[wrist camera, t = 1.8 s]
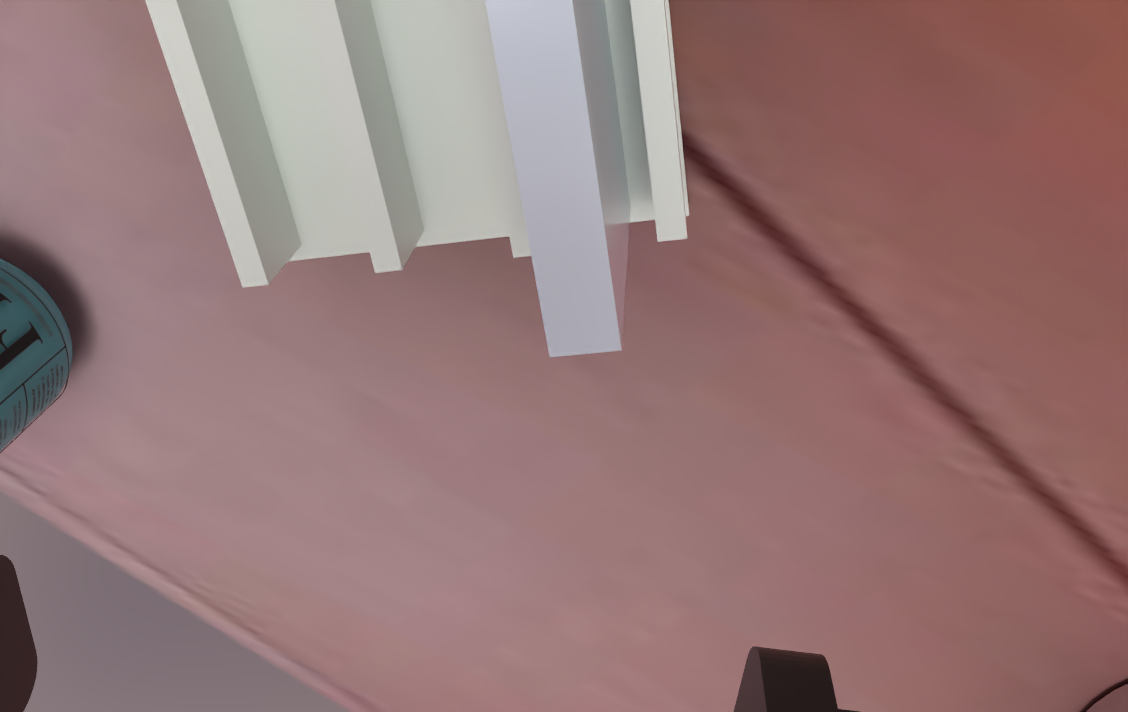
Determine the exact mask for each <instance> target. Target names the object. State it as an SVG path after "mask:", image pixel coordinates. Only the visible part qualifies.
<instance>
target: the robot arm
mask: <svg viewBox="0 0 1128 712" xmlns="http://www.w3.org/2000/svg"><path fill="white" fill-rule="evenodd" d="M36 673H37V654H36V649H35V645H34V642H33V638H32V634H31V630H30V626H29V622H28V618H27V614H26V610H25V606H24V602H23V598H22V595H21V591H20V587H19V583H18V579H17V575H16V572H15V568H14V565H13V564H12V562H11V560H9V559H8V558H7V557H6V556H3V555H0V712H23V711H24V709H25V707H26V705H27V703H28V701H29V698H30V696H31V693H32V690H33V687H34V683H35V679H36ZM734 712H858V711H850V710H841V709H838V707H837V703H836V698H835V693H834V688H833V684H832V679H831V674H830V670H829V666H828V663H827V660H826V659H825V657H824V656H823V655H821V654H812V653H804V652H795V651H787V650H779V649H770V648H762V647H752V648H751V650H750V652H749V654H748V657H747V661H746V665H745V669H744V673H743V677H742V681H741V685H740V689H739V693H738V697H737V701H736V705H735V709H734ZM1087 712H1128V684H1126V685H1124V686H1122V687H1120V688H1118V689H1116V690H1114V691H1112V692H1111V693H1109V694H1108V695H1106V696H1105V697H1103V698H1102V699H1101V700H1099V701H1098V702H1096V703H1095V704H1094V705H1093V706H1092V707H1091V708H1090V709H1089V710H1088V711H1087Z"/></svg>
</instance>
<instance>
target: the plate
mask: <svg viewBox="0 0 1128 712" xmlns="http://www.w3.org/2000/svg"><path fill="white" fill-rule="evenodd" d="M485 4H486V9H487V15H488V20H489V26H490V31H491V37H492V42H493V48H494V54H495V59H496V65H497V70H498V76H499V81H500V87H501V92H502V98H503V103H504V109H505V114H506V120H507V125H508V131H509V136H510V142H511V147H512V153H513V158H514V164H515V169H516V175H517V180H518V186H519V191H520V197H521V202H522V208H523V213H524V219H525V224H526V230H527V235H528V241H529V246H530V252H531V257H532V263H533V268H534V274H535V279H536V285H537V290H538V296H539V301H540V307H541V312H542V318H543V323H544V329H545V334H546V340H547V345H548V351H549V356H550V357H558V356H569V355H579V354H590V353H600V352H611V351H622V338H623V322H624V306H625V290H626V274H627V258H628V242H629V226H630V210H631V205H630V197H629V189H628V181H627V173H626V165H625V157H624V150H623V142H622V134H621V126H620V118H619V110H618V102H617V94H616V86H615V78H614V70H613V62H612V54H611V46H610V38H609V31H608V23H607V15H606V7H605V0H485Z"/></svg>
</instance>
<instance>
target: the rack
mask: <svg viewBox="0 0 1128 712" xmlns="http://www.w3.org/2000/svg"><path fill="white" fill-rule="evenodd" d="M145 1H146V4H147V7H148V10H149V13H150V16H151V19H152V22H153V25H154V28H155V31H156V34H157V37H158V40H159V42H160V45H161V48H162V51H163V54H164V57H165V60H166V63H167V66H168V69H169V72H170V75H171V78H172V81H173V84H174V87H175V90H176V93H177V96H178V99H179V102H180V104H181V107H182V110H183V113H184V116H185V119H186V122H187V125H188V128H189V131H190V134H191V137H192V140H193V143H194V146H195V149H196V152H197V155H198V158H199V161H200V164H201V166H202V169H203V172H204V175H205V178H206V181H207V184H208V187H209V190H210V193H211V196H212V199H213V202H214V205H215V208H216V211H217V214H218V217H219V220H220V223H221V225H222V228H223V231H224V234H225V237H226V240H227V243H228V246H229V249H230V252H231V255H232V258H233V261H234V264H235V267H236V270H237V273H238V276H239V279H240V282H241V285H242V287H243V288H244V287H253V286H262V285H269V284H270V283H271V281H272V280H273V279H274V278H275V276H276V275H277V274H278V273H279V272H280V270H281V269H282V268H283V267H284V266H285V264H286V263H287V262H288V261H296V260H305V259H314V258H323V257H331V256H340V255H349V254H358V253H367V252H370V256H371V259H372V263H373V267H374V271H375V273H380V272H389V271H398V270H403V268H404V266H405V264H406V263H407V261H408V259H409V257H410V255H411V254H412V252H413V250H414V248H415V247H419V246H428V245H437V244H446V243H455V242H463V241H472V240H481V239H490V238H499V237H507V236H509V238H510V243H511V248H512V253H513V258H516V257H525V256H531V252H530V246H529V241H528V235H527V230H526V224H525V219H524V213H523V208H522V202H521V197H520V191H519V186H518V180H517V175H516V169H515V164H514V158H513V153H512V147H511V142H510V136H509V131H508V125H507V120H506V114H505V109H504V103H503V98H502V92H501V87H500V81H499V76H498V70H497V65H496V59H495V54H494V48H493V42H492V37H491V31H490V26H489V20H488V15H487V9H486V4H485V0H145ZM605 7H606V15H607V23H608V31H609V38H610V46H611V54H612V62H613V70H614V78H615V86H616V94H617V102H618V110H619V118H620V126H621V134H622V142H623V150H624V157H625V165H626V173H627V181H628V189H629V197H630V205H631V210H630V222H639V221H648V220H655V223H656V232H657V241H658V242H661V241H670V240H679V239H687V228H686V216H689V207H688V197H687V186H686V176H685V166H684V155H683V145H682V134H681V124H680V114H679V103H678V93H677V83H676V72H675V62H674V52H673V41H672V31H671V20H670V10H669V0H605Z"/></svg>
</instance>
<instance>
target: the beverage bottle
mask: <svg viewBox="0 0 1128 712" xmlns="http://www.w3.org/2000/svg"><path fill="white" fill-rule="evenodd" d="M72 355H73V351H72V341H71V337H70V332H69V330H68V327H67V324H66V322H65V319H64V317H63V315H62V313H61V312H60V310H59V308H58V307H57V305H56V303H55V302H54V301H53V299H52V298H51V297H50V295H49V294H48V293H47V292H46V291H45V290H44V289H43V288H42V287H41V286H40V285H39V284H38V283H37V282H36V281H35V280H34V279H32V278H31V277H30V276H29V275H27V274H26V273H25V272H23V271H22V270H20V269H19V268H17V267H15V266H14V265H12V264H10V263H8V262H6V261H4V260H2V259H0V451H1V450H2V449H3V448H4V447H5V446H6V445H7V444H8V443H9V442H10V441H11V440H12V439H13V438H14V437H15V436H16V435H17V434H18V433H20V432H21V431H22V432H23V431H24V430H25V429H26V428H27V427H28V426H27V425H28V424H29V423H30V422H31V421H32V420H33V419H34V418H35V417H36V416H37V415H39V414H40V413H41V412H42V411H43V410H44V409H45V408H46V407H47V406H48V405H49V404H50V403H51V402H52V401H53V400H54V399H55V398H56V397H57V396H58V394H59V393H60V391H61V389H62V388H63V386H64V383H65V381H66V379H67V381H68V378H67V376H68V377H69V372H70V368H71V364H72ZM66 386H67V382H66ZM66 386H65V388H66ZM64 390H65V389H64ZM63 392H64V391H63ZM61 395H62V394H61ZM61 395H60V396H61ZM60 396H59V397H60ZM59 397H58V398H59ZM58 398H57V399H58ZM57 399H56V400H57ZM56 400H55V401H56ZM55 401H54V402H55ZM54 402H53V403H54ZM53 403H52V404H53ZM52 404H51V405H52ZM51 405H50V406H51ZM47 408H48V407H47ZM47 408H46V409H47ZM46 409H45V410H46ZM45 410H44V411H45ZM44 411H43V412H44ZM43 412H42V413H43ZM42 413H41V414H42ZM41 414H40V415H41ZM40 415H39V416H40ZM39 416H38V417H39ZM38 417H37V418H38ZM37 418H36V419H37ZM36 419H35V420H36ZM35 420H34V421H35ZM34 421H33V422H34ZM33 422H32V423H33ZM32 423H31V424H32ZM31 424H30V425H31ZM30 425H29V426H30ZM26 426H27V427H26ZM25 427H26V428H25ZM24 428H25V429H24ZM23 429H24V430H23ZM22 432H21V433H22ZM21 433H20V434H21ZM20 434H19V435H20ZM19 435H18V436H19ZM18 436H17V437H18ZM17 437H16V438H17ZM16 438H15V439H16ZM15 439H14V440H15ZM14 440H13V441H14ZM13 441H12V442H13ZM12 442H11V443H12ZM11 443H10V444H11ZM10 444H9V445H10ZM7 446H8V445H7ZM7 446H6V447H7ZM6 447H5V448H6ZM5 448H4V449H5ZM4 449H3V450H4ZM3 450H2V451H3ZM2 451H1V452H2ZM1 452H0V453H1Z"/></svg>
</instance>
